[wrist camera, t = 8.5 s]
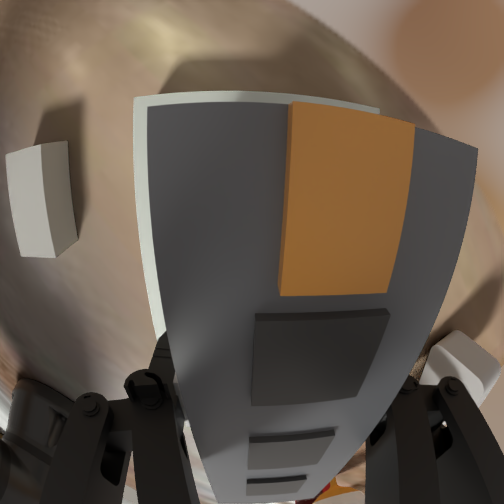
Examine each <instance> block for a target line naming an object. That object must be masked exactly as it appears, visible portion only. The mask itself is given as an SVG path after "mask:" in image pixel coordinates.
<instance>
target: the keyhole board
mask: <svg viewBox="0 0 504 504" xmlns="http://www.w3.org/2000/svg"><path fill="white" fill-rule="evenodd" d="M292 101H298V102H307V103H315V104H323V105H330V106H337V107H343V108H349V109H354V110H360V111H365V112H369V113H374V114H379V115H380V109H379V108H375V107H371V106H366V105H362V104H357V103H352V102H346V101H341V100H335V99H328V98H322V97H315V96H307V95H298V94H288V93H275V92H259V91H195V92H179V93H167V94H157V95H148V96H141V97H134V110H133V158H134V182H135V197H136V210H137V221H138V230H139V239H140V247H141V255H142V262H143V269H144V276H145V282H146V288H147V293H148V299H149V304H150V309H151V315H152V319H153V324H154V329H155V333H156V338H157V341H158V339H159V337H160V336H161V335H162V334H163V333H164V332H165V331H166V326H165V320H164V315H163V309H162V303H161V297H160V291H159V284H158V278H157V271H156V263H155V255H154V246H153V237H152V227H151V216H150V203H149V187H148V165H147V107H148V106H157V105H167V104H179V103H196V102H262V103H279V104H289V103H291V102H292Z"/></svg>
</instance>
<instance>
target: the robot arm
mask: <svg viewBox="0 0 504 504" xmlns="http://www.w3.org/2000/svg"><path fill="white" fill-rule="evenodd" d="M124 388H125V390H126V392H127V394H128V396H129V398H127V399H121V400H111V401H107V399H106V398H105V397H104V396H103V395H101V394H98V393H93V392H89V393H86V394H83V395H81V396H80V397H78V398H77V400H76V401H75V403H73V402H72V401H70V400H69V399H67V398H66V397H64V396H63V395H61V394H60V393H58V392H56V391H55V390H53V389H51V388H49V387H48V386H46V385H44V384H42V383H39V382H37V381H34V380H31V379H26V378H23V379H20V380H19V381H18V383H17V384H16V386H15V388H14V389H13V392H12V399H13V401H12V404H11V408H10V413H9V419H8V426H7V429H6V431H5V433H4V435H3V437H2V439H0V504H122V498H123V492H124V487H125V481H126V476H127V471H128V466H129V461H130V456H131V452H132V451H133V461H134V472H135V481H136V490H137V497H138V503H139V504H200V501H199V498H198V494H197V490H196V486H195V482H194V478H193V474H192V469H191V465H190V460H189V455H188V451H187V446H186V441H185V436H184V433H183V427H184V421H185V424H186V426H187V427H190V424H189V421H188V417H187V414H186V410H185V407H184V403H183V400H182V396H181V392H180V388H179V384H178V380H177V376H176V372H175V368H174V364H173V359H172V355H171V350H170V346H169V341H168V336H167V331H165V332H164V333H163V334H162V335H161V336H160V337H159V339H158V341H157V344H156V347H155V350H154V353H153V357H152V359H151V362H150V366H149V369H142V370H138V371H135V372H134V373H132V374H130V375H129V376H128V378H127V379H126V380H125V383H124ZM444 421H445V422H446V424H447V427H445V426H444V425H443V424H442V423H443V422H444ZM365 441H366V484H365V504H504V455H503V453H502V451H501V449H500V447H499V445H498V443H497V441H496V439H495V437H494V435H493V434H492V431H491V429H490V428H489V426H488V424H487V422H486V421H485V419H484V417H483V415H482V413H481V412H480V410H479V408H478V407H477V405H476V403H475V402H474V400H473V398H472V397H471V395H470V394H469V392H468V390H467V389H466V387H465V386H464V384H463V383H462V382H461V381H460V380H459V379H457V378H456V377H452V376H445V377H443V378H442V379H441V380H440V381H439V383H438V385H422V384H419V382H418V381H417V380H416V379H415V378H414V377H412V376H410V375H408V377H407V379H406V380H405V382H404V384H403V385H402V387H401V389H400V390H399V392H398V394H397V395H396V397H395V398H394V400H393V402H392V403H391V405H390V406H389V408H388V409H387V411H386V412H385V414H384V415H383V417H382V418H381V420H380V421H379V422H378V424H377V425H376V427H375V428H374V429H373V431H372V432H371V434H370V435H369V436H368V437H367V439H366V440H365Z"/></svg>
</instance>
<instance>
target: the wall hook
mask: <svg viewBox="0 0 504 504" xmlns="http://www.w3.org/2000/svg"><path fill="white" fill-rule="evenodd" d="M500 373H501V367H500V364H499V362H498V360H497V359H496V358H494V357H493V356H492V355H491V354H490V353H488V352H487V351H486V350H485V349H483V348H482V347H481V346H479V345H478V344H477V343H476V342H474V341H473V340H472V339H470V338H469V337H468V336H467V335H465V334H464V333H463V332H461V331H459V330H454V331H452V332H451V333H450V334H448V335H447V336H446V337H444V338H443V339H442V340H441V341H439V342H438V343H437V344H435V345H434V346H433V347H432V348H431V350H430V353H429V356H428V359H427V362H426V365H425V367H424V370H423V373H422V376H421V378H420V381H419V384H422V385H438V383H439V381H440V380H441V379H442V378H443V377H445V376H452V377H456V378H457V379H459V380H460V381H461V382H462V383H463V384H464V386H465V387H466V389H467V390H468V392H469V394H470V395H471V397H472V398H473V400H474V402H475V403H476V405H477V407H478V408H479V406H480V405H481V404H482V402H483V401H484V399H485V398H486V397H487V395H488V393H489V392H490V390H491V389H492V387H493V386H494V384H495V383H496V381H497V379H498V377H499V376H500ZM442 424H443V425H445V424H446V422H445V421H444V422H443V423H442Z"/></svg>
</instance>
